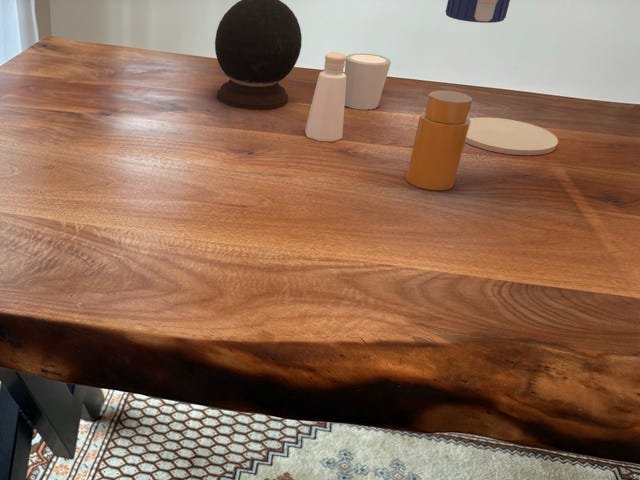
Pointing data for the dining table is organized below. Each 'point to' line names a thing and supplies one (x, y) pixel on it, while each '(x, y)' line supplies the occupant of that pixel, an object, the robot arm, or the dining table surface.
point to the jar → (439, 141)
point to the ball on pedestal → (257, 53)
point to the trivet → (510, 137)
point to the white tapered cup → (365, 80)
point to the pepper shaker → (328, 101)
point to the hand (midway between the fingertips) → (475, 13)
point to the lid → (463, 7)
